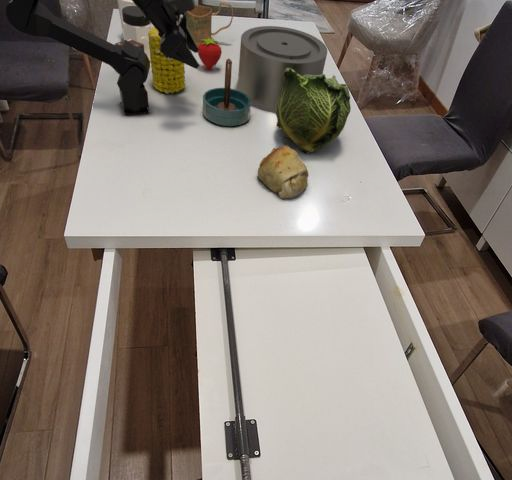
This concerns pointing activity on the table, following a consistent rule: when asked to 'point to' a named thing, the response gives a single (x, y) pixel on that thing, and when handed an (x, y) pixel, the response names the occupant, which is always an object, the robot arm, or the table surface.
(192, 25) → the mug
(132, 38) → the jar
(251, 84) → the container
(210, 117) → the bowl
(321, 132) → the vegetable
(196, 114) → the table surface
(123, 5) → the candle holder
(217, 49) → the strawberry
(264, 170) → the pastry
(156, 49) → the food
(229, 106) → the rounded top peg stand
